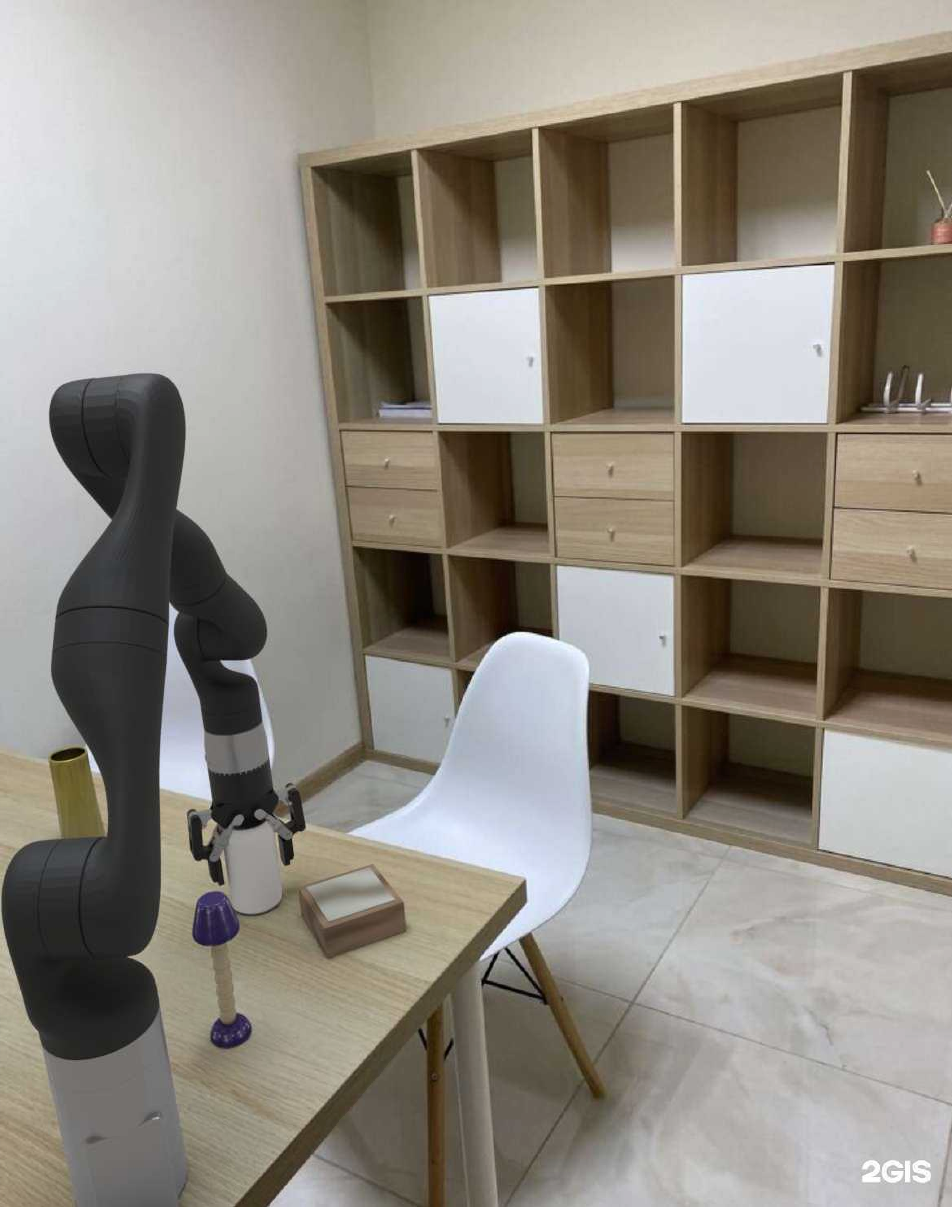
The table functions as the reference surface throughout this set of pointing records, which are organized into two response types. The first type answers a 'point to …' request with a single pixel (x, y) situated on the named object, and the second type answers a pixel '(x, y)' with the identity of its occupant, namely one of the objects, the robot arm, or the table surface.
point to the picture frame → (351, 910)
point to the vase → (75, 794)
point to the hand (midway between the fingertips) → (253, 872)
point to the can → (253, 868)
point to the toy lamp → (221, 965)
